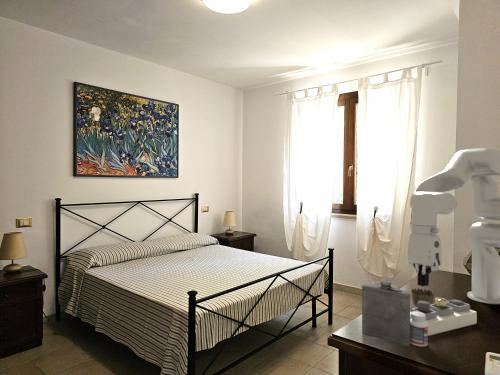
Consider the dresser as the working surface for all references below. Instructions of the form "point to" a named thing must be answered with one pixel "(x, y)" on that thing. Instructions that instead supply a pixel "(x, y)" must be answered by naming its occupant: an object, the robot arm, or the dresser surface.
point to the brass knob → (441, 303)
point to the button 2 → (457, 302)
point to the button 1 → (424, 306)
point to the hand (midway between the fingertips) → (423, 285)
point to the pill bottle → (418, 329)
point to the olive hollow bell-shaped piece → (422, 296)
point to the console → (448, 317)
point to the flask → (386, 313)
